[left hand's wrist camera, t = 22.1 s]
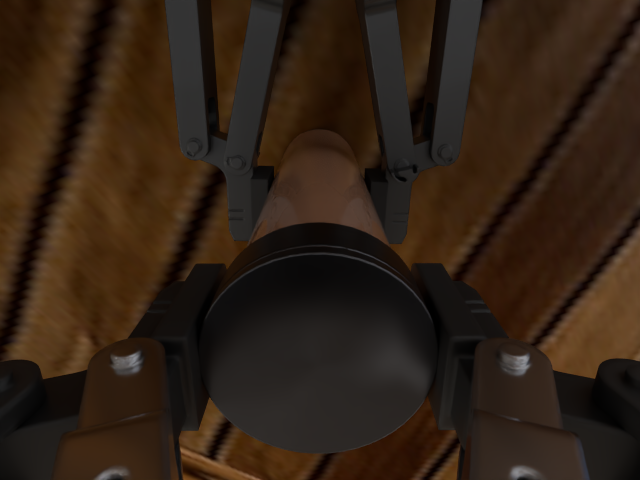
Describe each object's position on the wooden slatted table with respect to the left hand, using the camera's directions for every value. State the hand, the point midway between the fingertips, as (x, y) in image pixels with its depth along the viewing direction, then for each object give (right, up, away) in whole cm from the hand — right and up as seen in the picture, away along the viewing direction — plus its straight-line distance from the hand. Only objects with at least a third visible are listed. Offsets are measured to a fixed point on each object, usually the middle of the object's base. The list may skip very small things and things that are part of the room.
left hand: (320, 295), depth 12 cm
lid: (0, -1, -3) cm, 3 cm away
